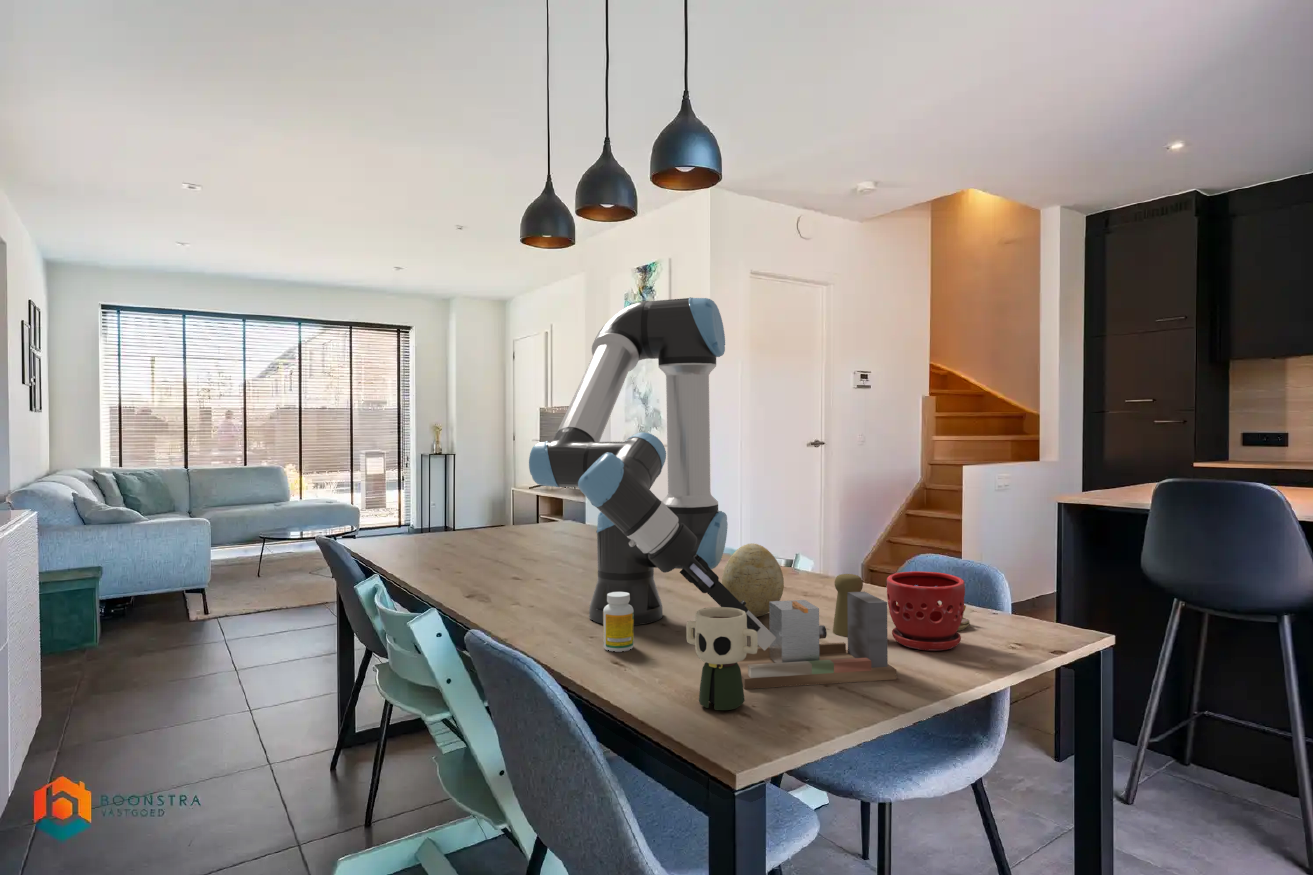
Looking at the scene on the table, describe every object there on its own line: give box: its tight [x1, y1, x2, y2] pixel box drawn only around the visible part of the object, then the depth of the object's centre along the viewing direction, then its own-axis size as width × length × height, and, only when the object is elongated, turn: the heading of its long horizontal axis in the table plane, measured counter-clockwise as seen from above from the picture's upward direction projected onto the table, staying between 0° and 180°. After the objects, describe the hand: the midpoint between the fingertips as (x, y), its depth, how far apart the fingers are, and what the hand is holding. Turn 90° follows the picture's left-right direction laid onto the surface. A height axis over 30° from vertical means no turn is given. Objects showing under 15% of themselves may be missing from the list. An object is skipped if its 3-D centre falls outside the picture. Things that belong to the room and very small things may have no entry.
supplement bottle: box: [602, 592, 635, 653], centre depth 131 cm, size 5×5×10 cm
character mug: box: [685, 606, 759, 711], centre depth 103 cm, size 11×7×13 cm, turn 58°
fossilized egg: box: [721, 542, 785, 618], centre depth 154 cm, size 13×13×15 cm
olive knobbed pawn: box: [832, 573, 864, 638], centre depth 140 cm, size 6×6×11 cm
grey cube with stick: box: [768, 599, 828, 663], centre depth 116 cm, size 8×8×10 cm
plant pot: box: [886, 570, 966, 652], centre depth 132 cm, size 13×13×12 cm
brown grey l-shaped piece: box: [737, 591, 897, 690], centre depth 117 cm, size 11×24×12 cm, turn 99°
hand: (769, 643), depth 115 cm, fingers closed
